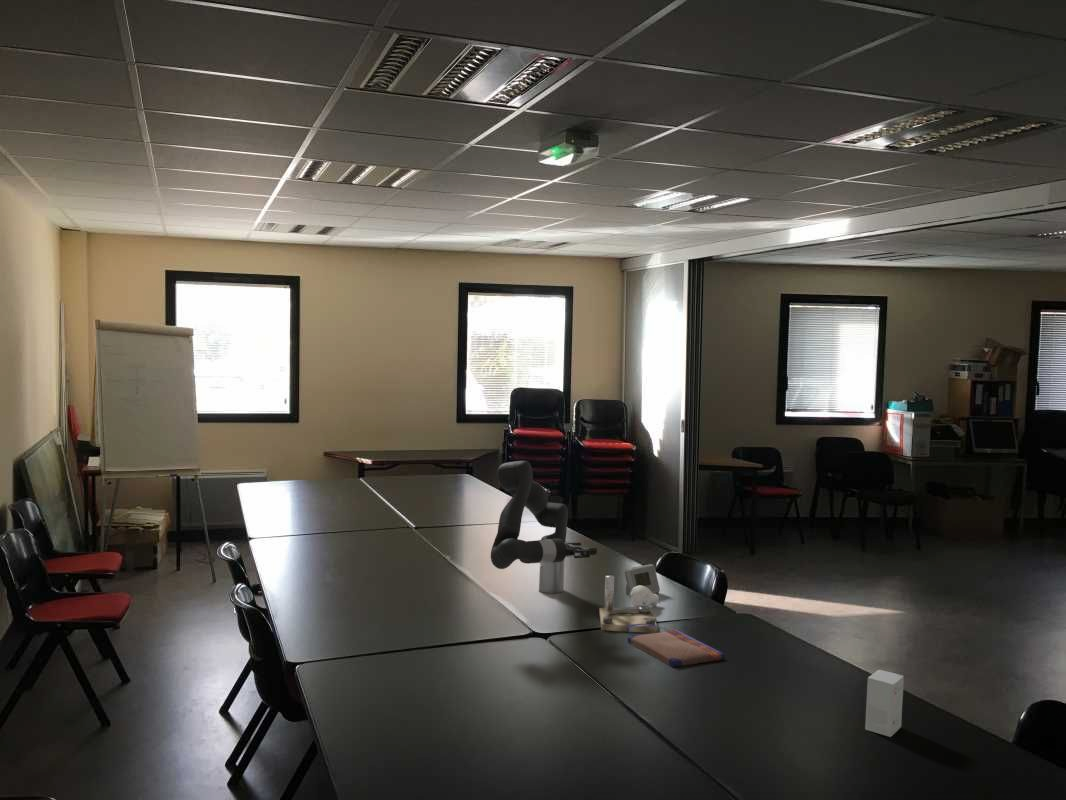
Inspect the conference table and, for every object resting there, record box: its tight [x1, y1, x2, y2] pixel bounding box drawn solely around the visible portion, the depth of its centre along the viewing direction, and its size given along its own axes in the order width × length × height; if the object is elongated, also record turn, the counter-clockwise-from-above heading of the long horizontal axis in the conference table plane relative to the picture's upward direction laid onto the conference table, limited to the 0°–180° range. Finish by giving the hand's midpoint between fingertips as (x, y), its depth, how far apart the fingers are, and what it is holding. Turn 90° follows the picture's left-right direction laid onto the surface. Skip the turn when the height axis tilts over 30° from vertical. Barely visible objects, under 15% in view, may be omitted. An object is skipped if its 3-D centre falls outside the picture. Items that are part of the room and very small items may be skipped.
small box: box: [864, 669, 905, 738], centre depth 209 cm, size 8×6×13 cm
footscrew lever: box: [603, 575, 652, 614], centre depth 290 cm, size 17×5×12 cm, turn 106°
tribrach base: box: [598, 607, 658, 634], centre depth 286 cm, size 18×18×4 cm
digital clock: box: [624, 563, 661, 599], centre depth 321 cm, size 16×9×11 cm, turn 121°
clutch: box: [626, 624, 726, 668], centre depth 262 cm, size 28×5×19 cm
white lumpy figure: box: [630, 585, 660, 607], centre depth 305 cm, size 6×8×12 cm
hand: (588, 548), depth 283 cm, fingers open, 8 cm apart
